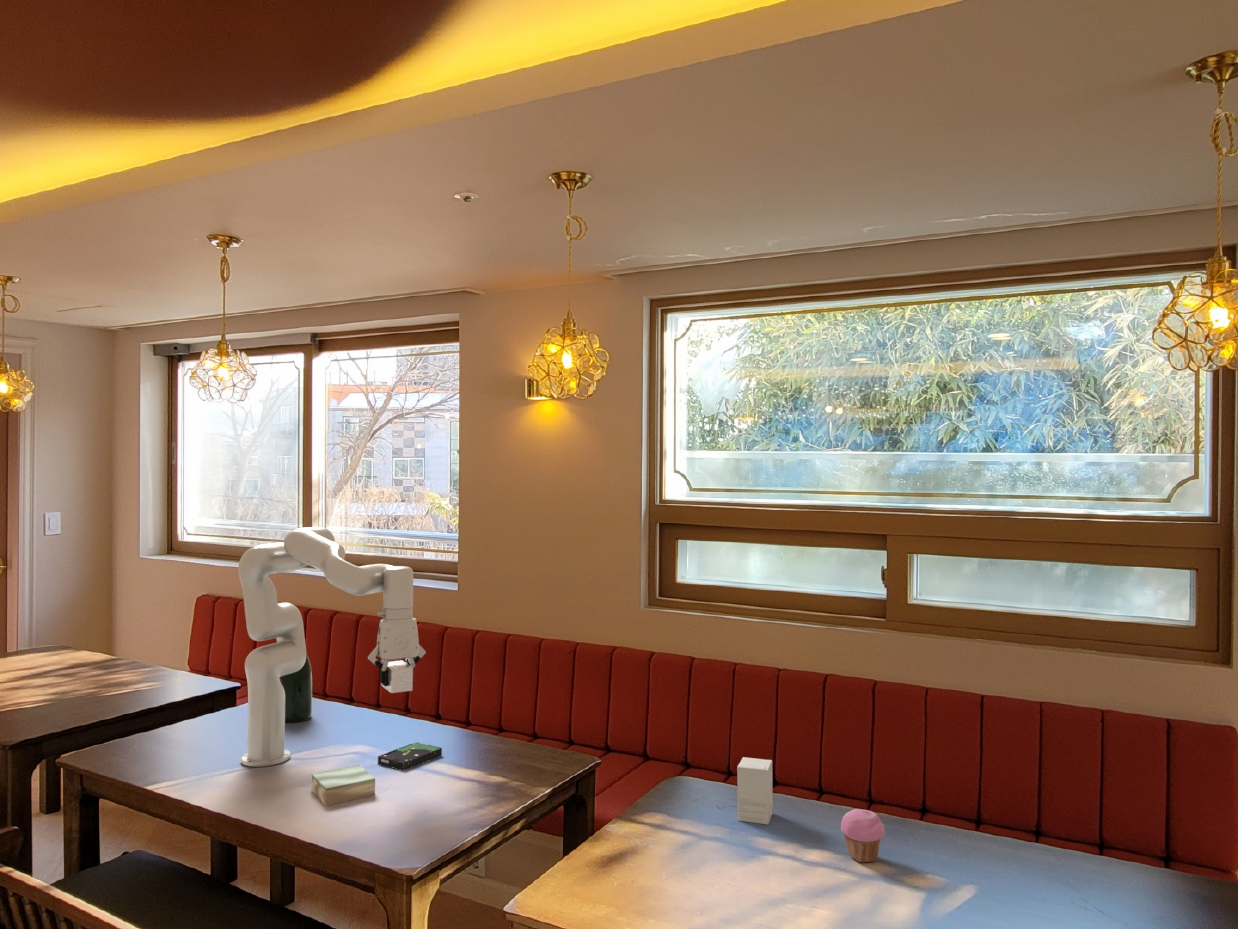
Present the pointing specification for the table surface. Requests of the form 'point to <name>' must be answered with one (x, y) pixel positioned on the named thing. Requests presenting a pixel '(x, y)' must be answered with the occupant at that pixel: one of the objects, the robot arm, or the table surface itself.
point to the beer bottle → (298, 693)
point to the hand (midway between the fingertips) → (396, 683)
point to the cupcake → (862, 834)
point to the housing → (399, 677)
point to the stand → (343, 784)
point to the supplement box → (755, 790)
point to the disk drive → (409, 756)
